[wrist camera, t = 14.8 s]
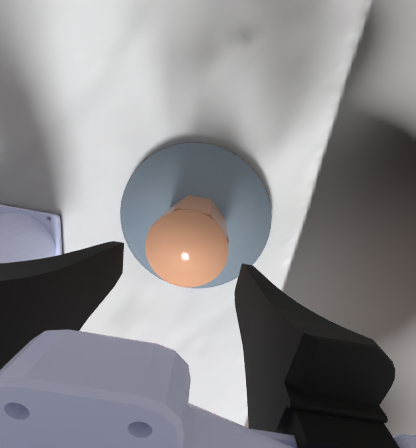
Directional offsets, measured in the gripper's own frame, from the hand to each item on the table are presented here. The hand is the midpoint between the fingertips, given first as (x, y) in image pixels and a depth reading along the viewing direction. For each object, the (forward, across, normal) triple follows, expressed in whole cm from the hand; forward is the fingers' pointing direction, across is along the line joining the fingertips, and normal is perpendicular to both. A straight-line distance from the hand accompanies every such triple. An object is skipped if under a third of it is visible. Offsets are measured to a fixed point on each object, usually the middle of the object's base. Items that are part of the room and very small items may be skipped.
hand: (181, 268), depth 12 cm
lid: (+10, 0, 0) cm, 10 cm away
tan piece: (+9, 0, 0) cm, 9 cm away
